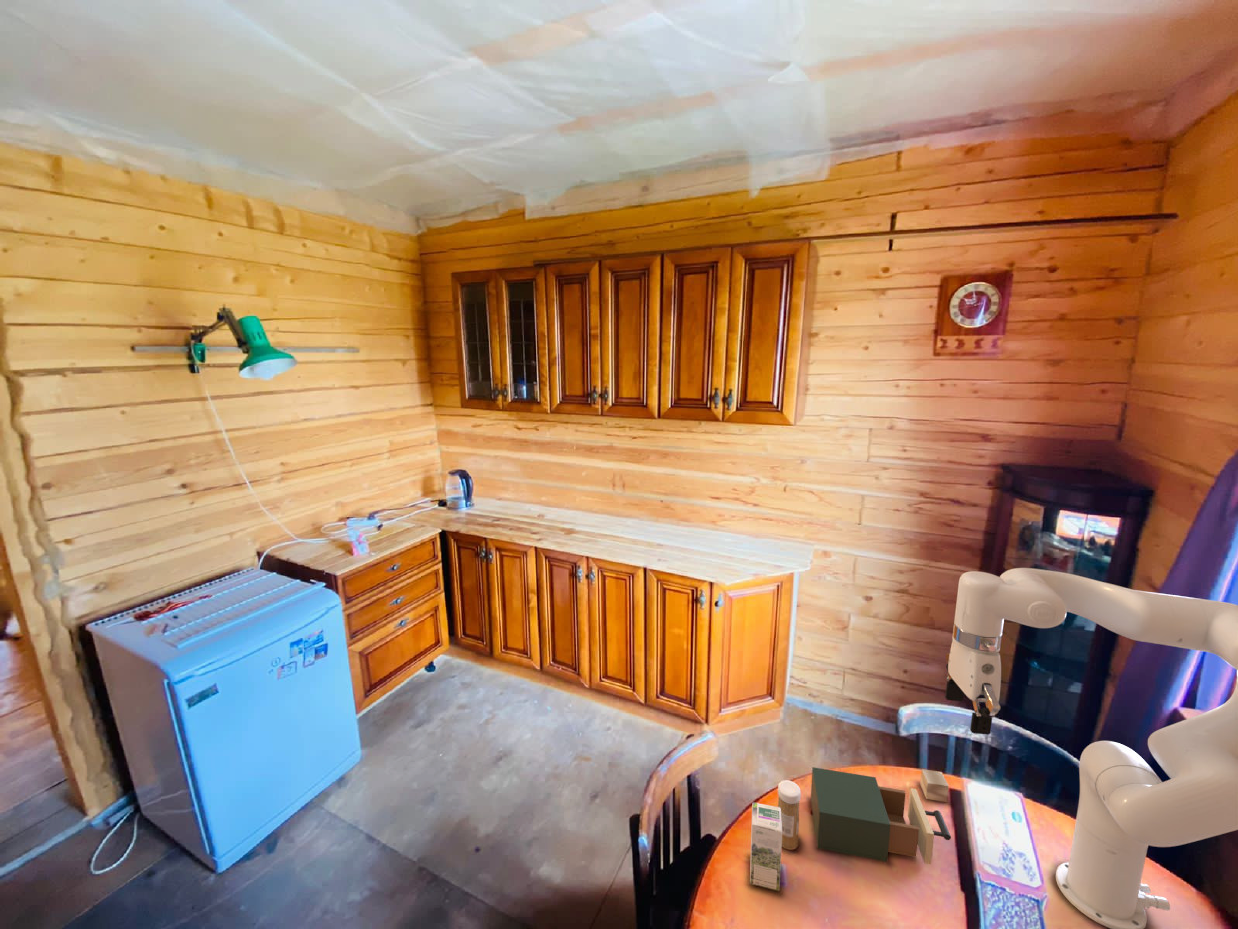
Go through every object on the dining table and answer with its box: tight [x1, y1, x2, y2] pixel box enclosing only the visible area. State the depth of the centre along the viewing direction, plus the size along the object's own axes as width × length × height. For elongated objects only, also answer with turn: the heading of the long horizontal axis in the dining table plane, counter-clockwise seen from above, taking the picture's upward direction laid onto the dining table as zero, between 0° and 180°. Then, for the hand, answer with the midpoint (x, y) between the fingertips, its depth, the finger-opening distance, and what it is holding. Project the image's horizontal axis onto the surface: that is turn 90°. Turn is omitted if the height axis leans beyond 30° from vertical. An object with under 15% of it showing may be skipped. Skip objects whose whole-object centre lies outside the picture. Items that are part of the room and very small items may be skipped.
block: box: [919, 768, 949, 803], centre depth 120 cm, size 4×4×4 cm
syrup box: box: [749, 801, 783, 892], centre depth 100 cm, size 6×6×14 cm
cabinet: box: [810, 766, 890, 863], centre depth 111 cm, size 14×13×9 cm
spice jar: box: [777, 779, 802, 850], centre depth 108 cm, size 5×5×14 cm
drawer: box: [878, 785, 952, 865], centre depth 108 cm, size 17×11×7 cm
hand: (966, 715), depth 99 cm, fingers open, 9 cm apart
